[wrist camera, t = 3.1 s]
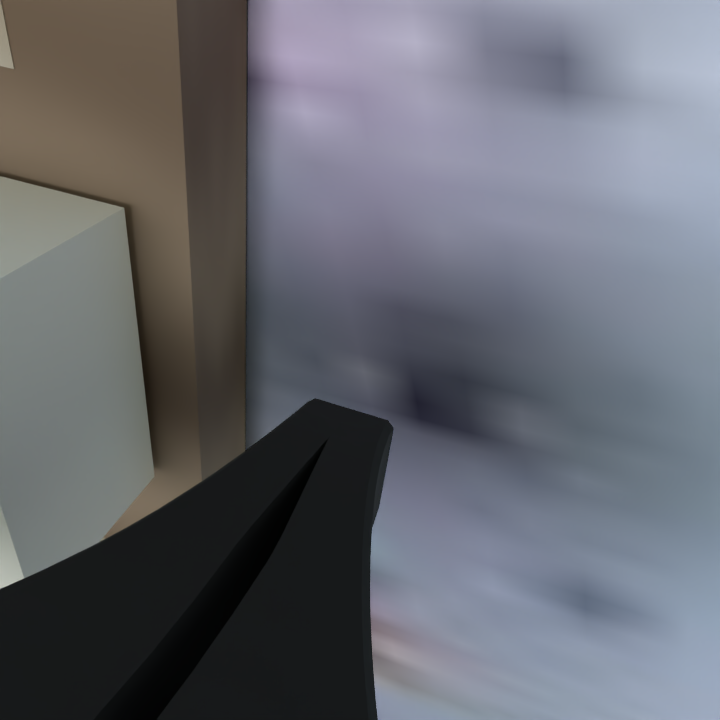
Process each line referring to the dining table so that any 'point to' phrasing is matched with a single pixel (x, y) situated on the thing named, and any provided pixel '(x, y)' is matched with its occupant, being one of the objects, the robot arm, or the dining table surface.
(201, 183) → the console board
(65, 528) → the fader knob
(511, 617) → the dining table surface
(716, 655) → the dining table surface
